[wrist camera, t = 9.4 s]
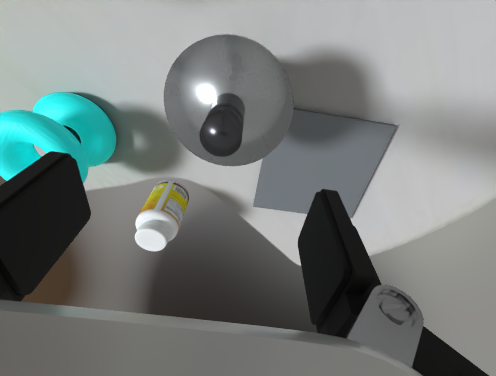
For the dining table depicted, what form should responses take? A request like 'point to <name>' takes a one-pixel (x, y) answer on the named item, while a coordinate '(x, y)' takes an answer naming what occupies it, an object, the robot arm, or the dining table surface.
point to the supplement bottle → (161, 215)
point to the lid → (228, 100)
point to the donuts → (55, 133)
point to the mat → (321, 161)
